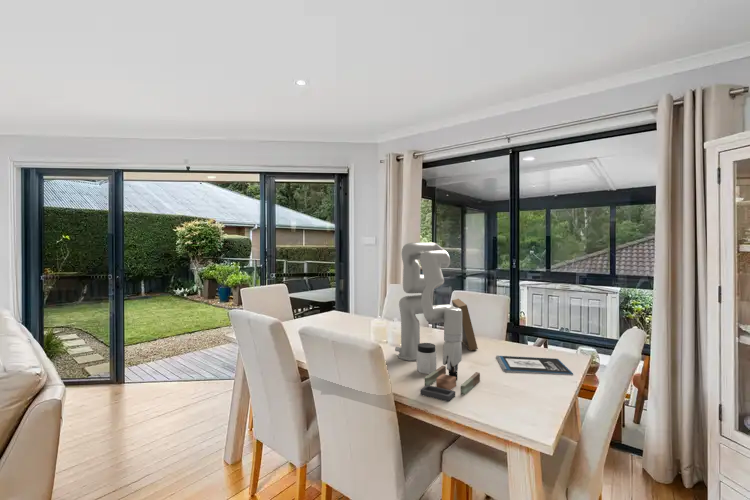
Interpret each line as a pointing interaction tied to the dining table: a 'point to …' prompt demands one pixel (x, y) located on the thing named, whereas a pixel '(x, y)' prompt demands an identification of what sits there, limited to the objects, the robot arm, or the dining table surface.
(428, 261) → the robot arm
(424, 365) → the jar
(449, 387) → the terracotta block
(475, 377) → the walled channel
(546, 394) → the dining table surface
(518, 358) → the sketchbook
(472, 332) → the photo frame
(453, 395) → the tray
